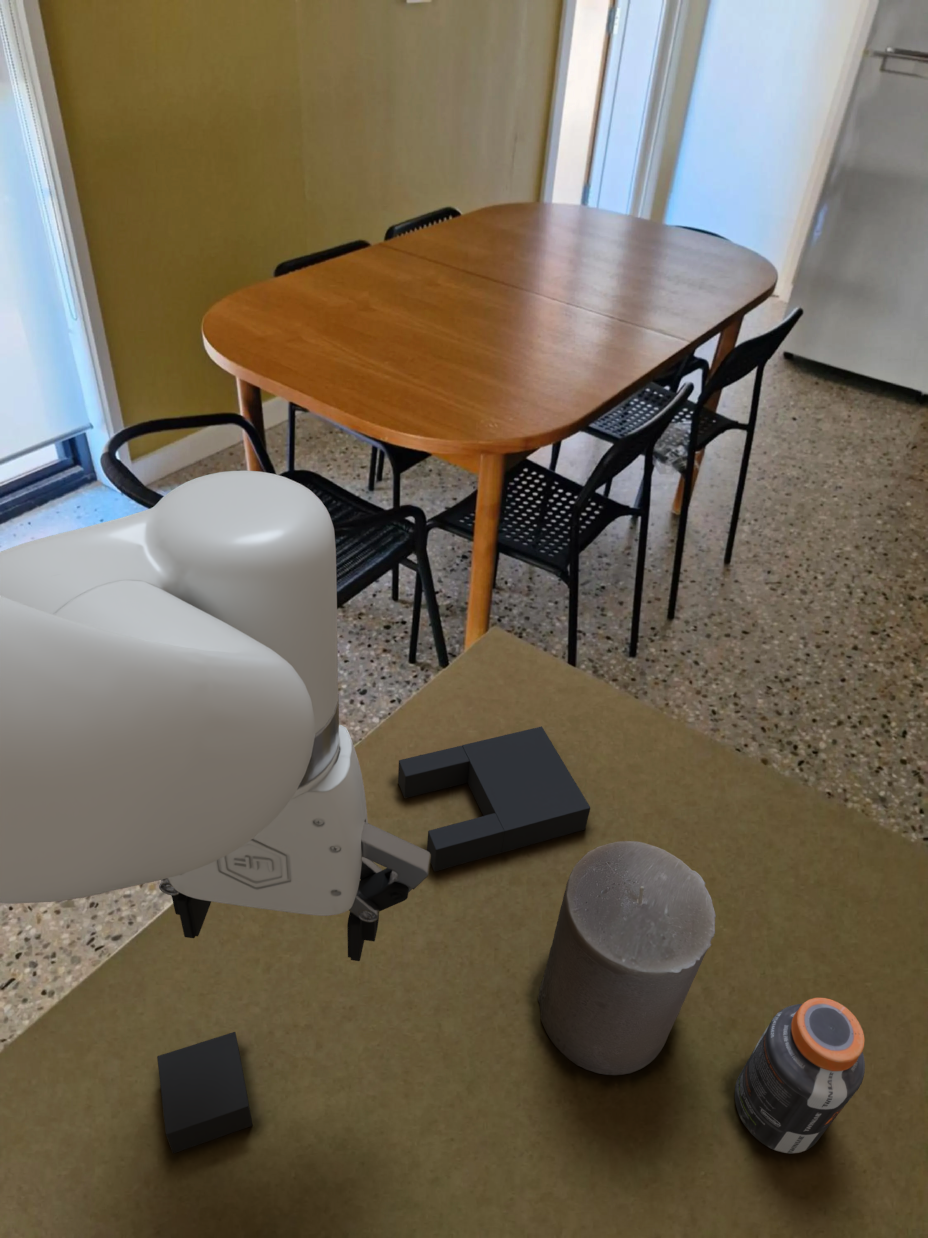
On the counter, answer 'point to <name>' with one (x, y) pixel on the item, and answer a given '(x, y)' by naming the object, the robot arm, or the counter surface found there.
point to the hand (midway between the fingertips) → (279, 927)
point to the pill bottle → (801, 1074)
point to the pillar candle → (624, 955)
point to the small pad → (203, 1092)
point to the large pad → (498, 795)
